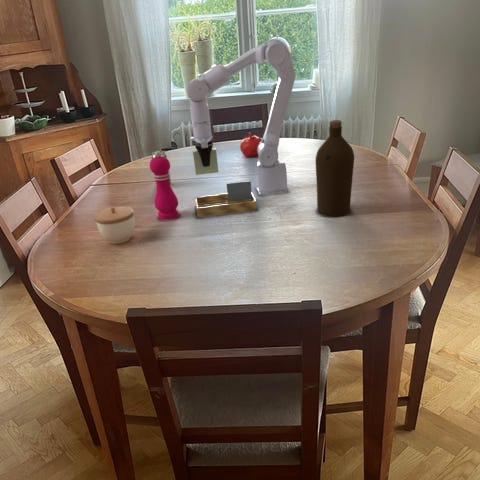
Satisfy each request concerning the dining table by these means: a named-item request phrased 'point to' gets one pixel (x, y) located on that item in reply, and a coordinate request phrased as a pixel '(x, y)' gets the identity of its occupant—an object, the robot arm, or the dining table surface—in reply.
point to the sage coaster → (209, 169)
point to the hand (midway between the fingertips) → (206, 165)
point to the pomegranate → (250, 146)
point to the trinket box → (116, 224)
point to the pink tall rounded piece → (161, 155)
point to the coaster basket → (222, 205)
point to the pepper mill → (163, 188)
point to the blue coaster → (239, 191)
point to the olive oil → (334, 173)
